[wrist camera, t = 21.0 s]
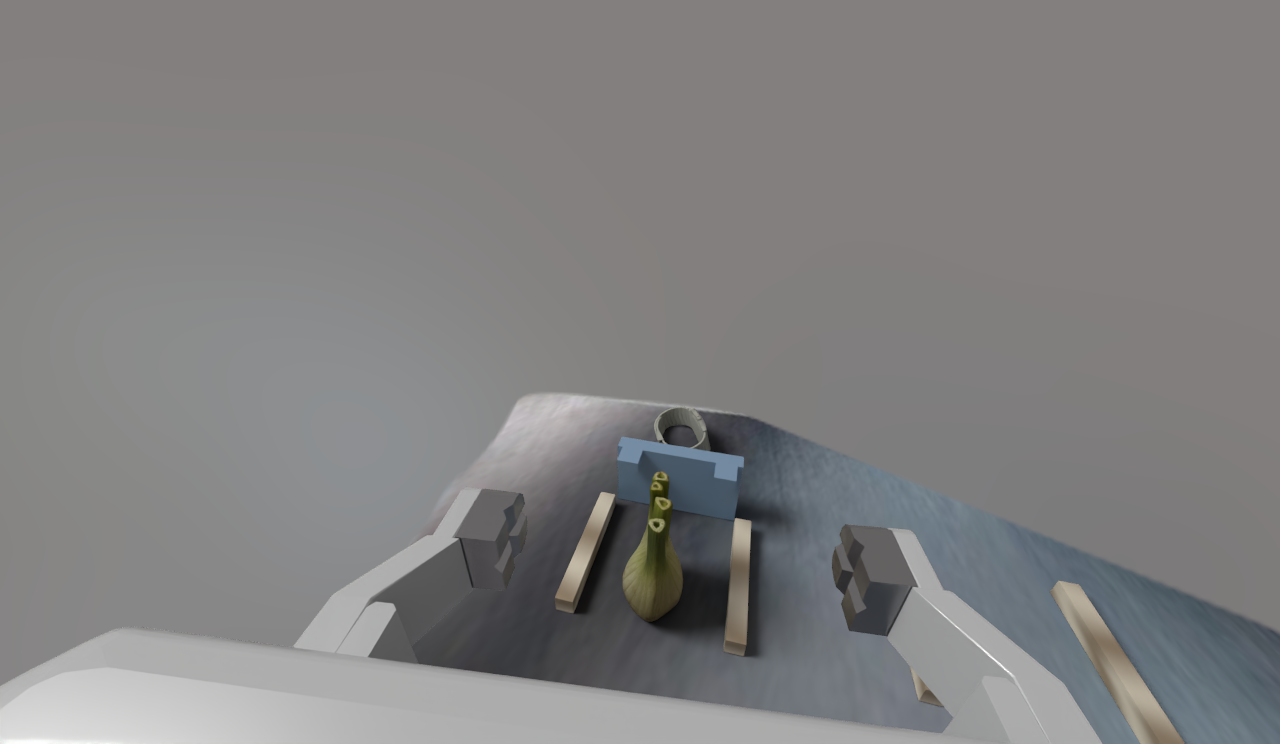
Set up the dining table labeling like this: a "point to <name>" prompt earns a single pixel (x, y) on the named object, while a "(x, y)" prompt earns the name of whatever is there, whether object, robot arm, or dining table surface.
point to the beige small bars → (1083, 618)
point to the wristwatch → (685, 418)
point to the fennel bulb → (654, 560)
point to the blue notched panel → (681, 476)
